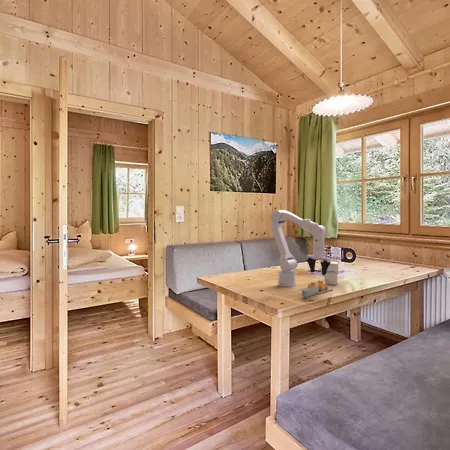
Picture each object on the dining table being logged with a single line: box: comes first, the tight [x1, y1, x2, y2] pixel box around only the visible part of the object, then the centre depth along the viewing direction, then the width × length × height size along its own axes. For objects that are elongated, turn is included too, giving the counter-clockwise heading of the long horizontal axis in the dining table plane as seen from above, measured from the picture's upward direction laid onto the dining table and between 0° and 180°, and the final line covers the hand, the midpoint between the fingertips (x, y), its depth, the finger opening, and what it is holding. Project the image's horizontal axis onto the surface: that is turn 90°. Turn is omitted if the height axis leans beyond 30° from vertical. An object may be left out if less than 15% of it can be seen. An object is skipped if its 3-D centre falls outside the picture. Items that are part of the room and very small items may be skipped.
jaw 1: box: [307, 281, 319, 289], centre depth 164 cm, size 4×4×5 cm
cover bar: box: [301, 286, 319, 298], centre depth 156 cm, size 13×3×4 cm, turn 130°
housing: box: [298, 285, 334, 296], centre depth 167 cm, size 14×13×2 cm
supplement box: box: [323, 261, 339, 286], centre depth 186 cm, size 7×7×13 cm
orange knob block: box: [315, 280, 327, 291], centre depth 168 cm, size 4×4×5 cm
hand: (318, 273), depth 166 cm, fingers open, 7 cm apart
